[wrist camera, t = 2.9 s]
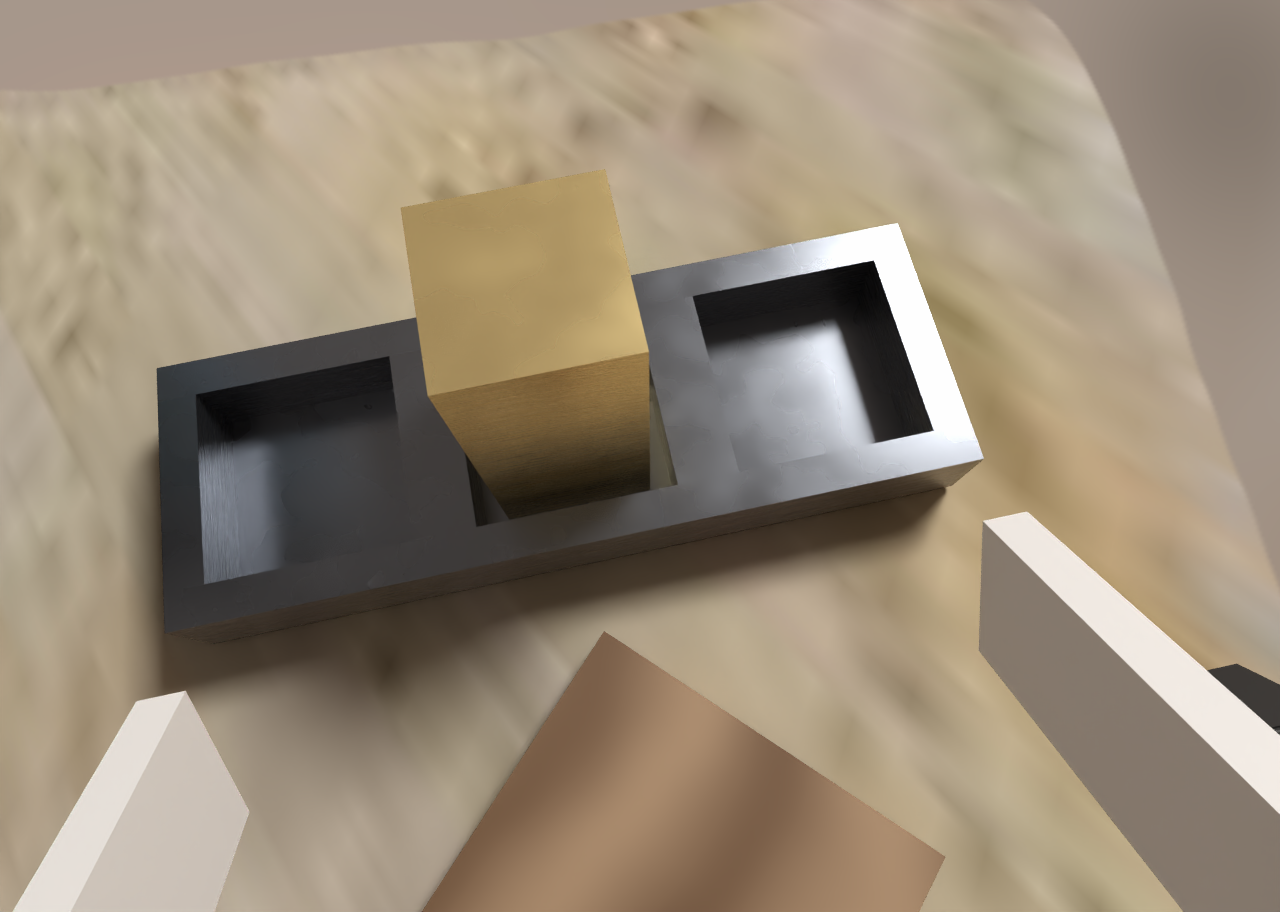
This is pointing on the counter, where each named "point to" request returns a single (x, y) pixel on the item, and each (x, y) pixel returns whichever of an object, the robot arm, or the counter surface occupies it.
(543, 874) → the coaster
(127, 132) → the counter surface
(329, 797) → the counter surface
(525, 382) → the golden rectangular block
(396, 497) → the compartment tray
